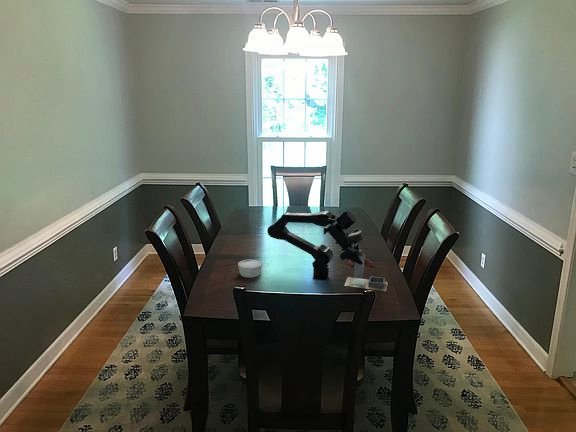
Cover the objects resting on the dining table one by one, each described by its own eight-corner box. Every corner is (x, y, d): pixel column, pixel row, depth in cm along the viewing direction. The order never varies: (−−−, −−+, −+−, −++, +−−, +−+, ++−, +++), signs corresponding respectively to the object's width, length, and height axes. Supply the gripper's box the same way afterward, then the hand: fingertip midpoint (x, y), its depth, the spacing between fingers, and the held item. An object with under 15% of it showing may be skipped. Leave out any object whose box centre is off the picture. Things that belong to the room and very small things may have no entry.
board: (344, 286, 201) (344, 285, 201) (347, 277, 210) (348, 276, 210) (386, 291, 196) (386, 291, 196) (387, 282, 205) (387, 282, 205)
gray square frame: (368, 287, 200) (368, 281, 199) (369, 281, 206) (370, 276, 205) (383, 289, 198) (384, 283, 197) (384, 283, 204) (385, 277, 203)
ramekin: (252, 267, 220) (252, 257, 219) (267, 274, 212) (267, 264, 211) (233, 273, 213) (233, 262, 212) (247, 281, 205) (247, 270, 204)
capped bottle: (353, 277, 202) (355, 251, 199) (354, 273, 206) (356, 248, 202) (362, 278, 201) (364, 252, 197) (363, 275, 204) (365, 249, 201)
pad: (351, 284, 202) (351, 283, 202) (353, 279, 207) (353, 278, 207) (364, 286, 201) (364, 285, 201) (365, 281, 206) (365, 280, 206)
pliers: (356, 253, 243) (356, 248, 242) (373, 267, 224) (373, 262, 224) (336, 255, 240) (336, 250, 240) (351, 269, 222) (351, 264, 221)
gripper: (349, 230, 189) (373, 259, 189) (357, 219, 206) (379, 245, 206) (329, 246, 194) (353, 274, 194) (338, 233, 211) (361, 259, 211)
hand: (362, 262), depth 201 cm, fingers closed on capped bottle, 4 cm apart
